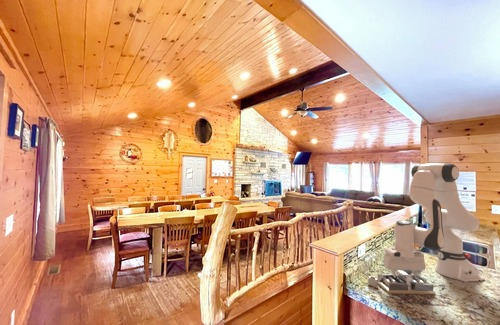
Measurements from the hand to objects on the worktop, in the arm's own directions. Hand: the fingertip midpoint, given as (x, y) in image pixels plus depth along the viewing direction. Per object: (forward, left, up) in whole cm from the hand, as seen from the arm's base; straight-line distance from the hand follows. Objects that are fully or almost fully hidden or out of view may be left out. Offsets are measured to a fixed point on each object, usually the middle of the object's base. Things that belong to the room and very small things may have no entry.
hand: (404, 277), depth 114 cm
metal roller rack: (0, 0, -5) cm, 5 cm away
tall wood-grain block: (0, 0, -4) cm, 4 cm away
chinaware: (-13, -15, -6) cm, 21 cm away
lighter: (+15, 0, -6) cm, 16 cm away
